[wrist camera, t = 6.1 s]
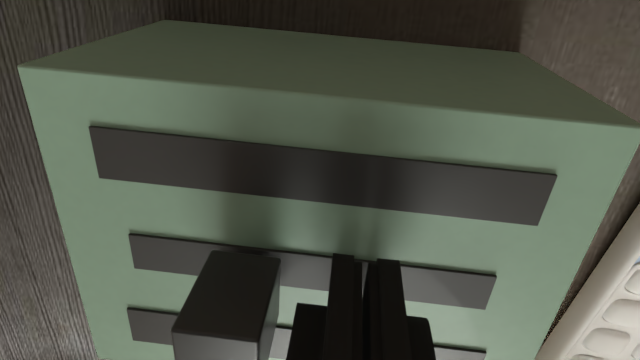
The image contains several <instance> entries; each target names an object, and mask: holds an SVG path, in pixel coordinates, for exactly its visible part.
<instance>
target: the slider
mask: <svg viewBox="0 0 640 360" xmlns="http://www.w3.org/2000/svg"><path fill="white" fill-rule="evenodd" d="M280 271H281V260H280V258H278V257H270V256H261V255H253V254H244V253H235V252H227V251H218V250H212V251H211V252H210V254H209V256H208V258H207V260H206V262H205V264H204V266H203V267H202V269H201V271H200V273H199V275H198V277H197V279H196V281H195V283H194V285H193V287H192V289H191V291H190V293H189V295H188V297H187V299H186V301H185V303H184V305H183V307H182V308H181V310H180V312H179V314H178V316H177V318H176V320H175V322H174V324H173V326H172V328H171V337H172V344H173V351H174V358H175V360H268V359H269V355H270V351H271V346H272V342H273V338H274V333H275V329H276V325H277V320H278V316H279V298H280Z"/></svg>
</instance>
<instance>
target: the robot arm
mask: <svg viewBox="0 0 640 360" xmlns="http://www.w3.org/2000/svg"><path fill="white" fill-rule="evenodd" d="M286 360H436V355H435V350H434V345H433V339H432V334H431V329H430V324H429V321H428V319H427V318H423V317H415V316H407V314H406V306H405V298H404V291H403V283H402V275H401V267H400V262H399V260H390V259H381V258H377V260H376V264H374V263H368V267H367V273H366V279H365V285H364V291H363V297H362V262H356V261H354V255H346V254H337V253H333V258H332V267H331V276H330V285H329V294H328V303H327V306H323V305H315V304H306V303H298V302H297V305H296V310H295V315H294V320H293V326H292V331H291V336H290V341H289V347H288V352H287V357H286Z"/></svg>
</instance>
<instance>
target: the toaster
mask: <svg viewBox="0 0 640 360" xmlns="http://www.w3.org/2000/svg"><path fill="white" fill-rule="evenodd" d="M18 71H19V75H20V78H21V82H22V86H23V89H24V93H25V97H26V100H27V104H28V107H29V111H30V115H31V118H32V122H33V125H34V129H35V133H36V136H37V140H38V144H39V147H40V151H41V154H42V158H43V162H44V165H45V169H46V172H47V176H48V180H49V183H50V187H51V191H52V194H53V198H54V201H55V205H56V209H57V212H58V216H59V219H60V223H61V227H62V230H63V234H64V238H65V241H66V245H67V248H68V252H69V256H70V259H71V263H72V266H73V270H74V274H75V277H76V281H77V285H78V288H79V292H80V295H81V299H82V303H83V306H84V310H85V313H86V317H87V321H88V324H89V328H90V332H91V335H92V339H93V342H94V346H95V350H96V353H97V357H98V358H101V359H109V360H175V358H174V351H173V344H172V337H171V328H172V326H173V324H174V322H175V320H176V318H177V316H178V314H179V312H180V310H181V308H182V307H183V305H184V303H185V301H186V299H187V297H188V295H189V293H190V291H191V289H192V287H193V285H194V283H195V281H196V279H197V277H198V275H199V273H200V271H201V269H202V267H203V266H204V264H205V262H206V260H207V258H208V256H209V254H210V252H211V251H212V250H218V251H227V252H235V253H244V254H253V255H261V256H270V257H278V258H280V260H281V271H280V298H279V316H278V320H277V325H276V329H275V333H274V338H273V342H272V346H271V351H270V355H269V359H268V360H286V357H287V352H288V347H289V341H290V336H291V331H292V326H293V320H294V315H295V310H296V305H297V302H298V303H306V304H315V305H323V306H327V303H328V294H329V285H330V276H331V267H332V258H333V253H337V254H346V255H354V261H356V262H362V297H363V291H364V285H365V279H366V273H367V267H368V263H374V264H376V260H377V258H381V259H390V260H399V262H400V267H401V275H402V283H403V291H404V298H405V306H406V314H407V316H415V317H423V318H427V319H428V321H429V324H430V329H431V334H432V339H433V345H434V350H435V355H436V360H534V359H535V357H536V355H537V353H538V351H539V349H540V347H541V345H542V343H543V341H544V339H545V337H546V335H547V333H548V331H549V329H550V327H551V324H552V322H553V320H554V318H555V316H556V314H557V312H558V310H559V308H560V306H561V304H562V302H563V300H564V298H565V296H566V294H567V292H568V290H569V287H570V285H571V283H572V281H573V279H574V277H575V275H576V273H577V271H578V269H579V267H580V265H581V263H582V261H583V259H584V257H585V255H586V253H587V250H588V248H589V246H590V244H591V242H592V240H593V238H594V236H595V234H596V232H597V230H598V228H599V226H600V224H601V222H602V220H603V218H604V216H605V213H606V211H607V209H608V207H609V205H610V203H611V201H612V199H613V197H614V195H615V193H616V191H617V189H618V187H619V185H620V183H621V181H622V179H623V176H624V174H625V172H626V170H627V168H628V166H629V164H630V162H631V160H632V158H633V156H634V154H635V152H636V150H637V148H638V146H639V144H640V123H638V122H636V121H635V120H633V119H631V118H630V117H628V116H626V115H625V114H623V113H621V112H619V111H618V110H616V109H614V108H613V107H611V106H609V105H608V104H606V103H604V102H603V101H601V100H599V99H597V98H596V97H594V96H592V95H591V94H589V93H587V92H586V91H584V90H582V89H581V88H579V87H577V86H575V85H574V84H572V83H570V82H569V81H567V80H565V79H564V78H562V77H560V76H558V75H557V74H555V73H553V72H552V71H550V70H548V69H547V68H545V67H543V66H542V65H540V64H538V63H536V62H535V61H533V60H531V59H530V58H528V57H526V56H525V55H523V54H521V53H519V52H509V51H498V50H488V49H477V48H466V47H455V46H444V45H433V44H423V43H412V42H401V41H390V40H379V39H369V38H358V37H347V36H336V35H325V34H315V33H304V32H293V31H282V30H271V29H261V28H250V27H239V26H228V25H217V24H207V23H196V22H185V21H174V20H162V21H159V22H155V23H152V24H149V25H146V26H142V27H139V28H136V29H133V30H130V31H126V32H123V33H120V34H117V35H113V36H110V37H107V38H104V39H101V40H97V41H94V42H91V43H88V44H85V45H81V46H78V47H75V48H72V49H68V50H65V51H62V52H59V53H56V54H52V55H49V56H46V57H43V58H39V59H36V60H33V61H30V62H27V63H23V64H20V65H18Z"/></svg>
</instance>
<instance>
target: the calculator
mask: <svg viewBox="0 0 640 360" xmlns="http://www.w3.org/2000/svg"><path fill="white" fill-rule="evenodd" d="M534 360H640V203H639V204H638V206H637V207H636V209H635V210H634V212H633V213H632V215H631V216H630V217H629V219H628V220H627V222H626V223H625V225H624V226H623V228H622V229H621V231H620V232H619V234H618V235H617V237H616V238H615V240H614V241H613V243H612V244H611V245H610V247H609V248H608V250H607V251H606V253H605V254H604V256H603V257H602V259H601V260H600V262H599V263H598V265H597V266H596V268H595V269H594V271H593V272H592V273H591V275H590V276H589V278H588V279H587V281H586V282H585V284H584V285H583V287H582V288H581V290H580V291H579V293H578V294H577V296H576V297H575V298H574V300H573V301H572V303H571V304H570V306H569V307H568V309H567V310H566V312H565V313H564V315H563V316H562V318H561V319H560V321H559V322H558V324H557V325H556V326H555V328H554V329H553V331H552V332H551V334H550V335H549V337H548V338H547V340H546V341H545V343H544V344H543V346H542V347H541V349H540V350H539V352H538V353H537V355H536V357H535V359H534Z"/></svg>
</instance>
